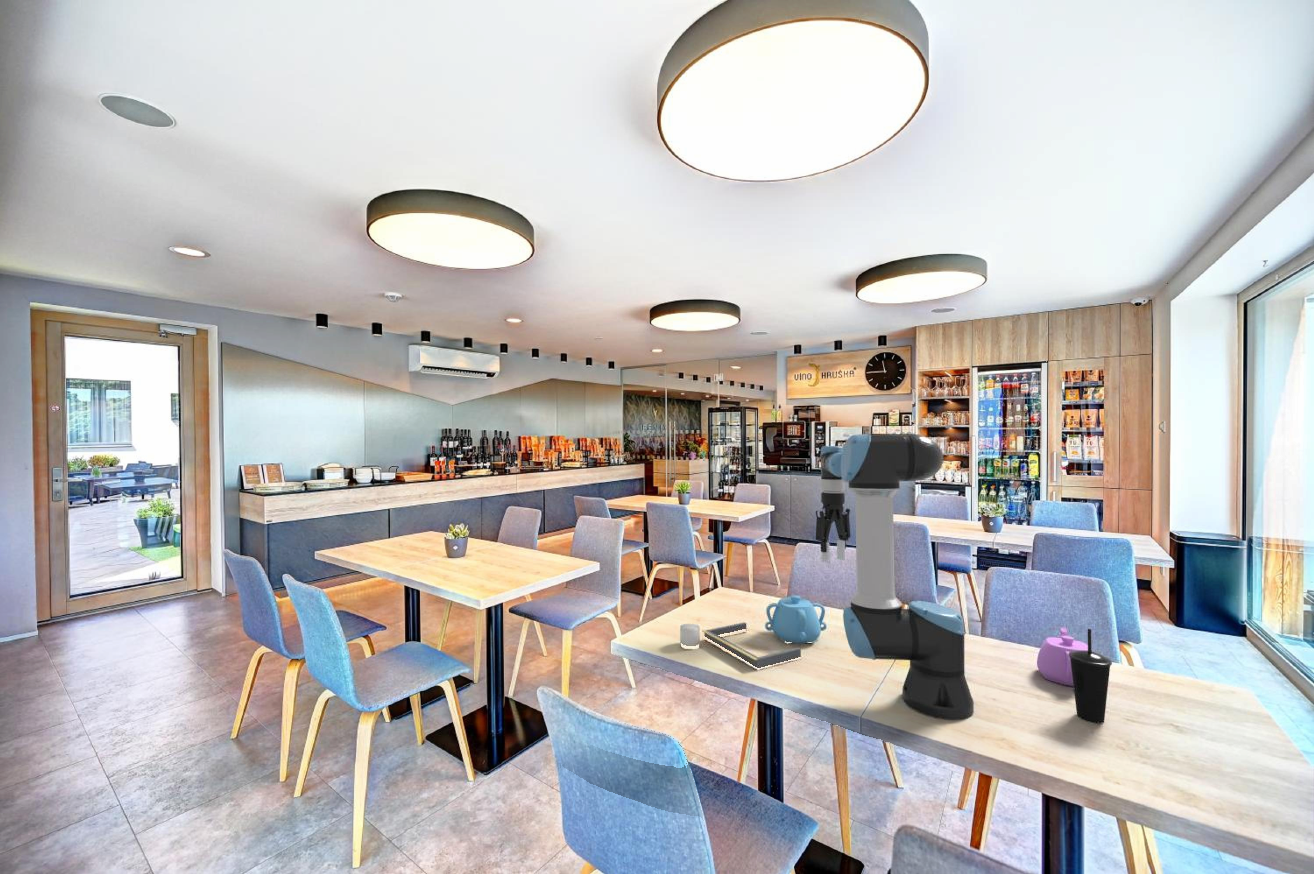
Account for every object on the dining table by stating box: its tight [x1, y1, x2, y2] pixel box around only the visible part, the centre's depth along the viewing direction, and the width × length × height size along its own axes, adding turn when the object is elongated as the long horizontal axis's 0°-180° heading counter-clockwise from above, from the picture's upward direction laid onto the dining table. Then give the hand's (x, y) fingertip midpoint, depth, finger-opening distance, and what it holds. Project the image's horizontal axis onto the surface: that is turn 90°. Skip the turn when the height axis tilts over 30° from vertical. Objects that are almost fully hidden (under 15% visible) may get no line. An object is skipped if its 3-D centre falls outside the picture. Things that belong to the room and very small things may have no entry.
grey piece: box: [701, 622, 802, 668], centre depth 163 cm, size 26×17×3 cm, turn 29°
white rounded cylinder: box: [679, 623, 701, 646], centre depth 167 cm, size 7×6×6 cm
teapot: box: [1036, 626, 1088, 687], centre depth 142 cm, size 13×20×11 cm
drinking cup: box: [1069, 628, 1113, 724], centre depth 122 cm, size 8×8×20 cm
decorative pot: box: [764, 594, 827, 644], centre depth 172 cm, size 16×16×14 cm
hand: (833, 560), depth 181 cm, fingers open, 6 cm apart
